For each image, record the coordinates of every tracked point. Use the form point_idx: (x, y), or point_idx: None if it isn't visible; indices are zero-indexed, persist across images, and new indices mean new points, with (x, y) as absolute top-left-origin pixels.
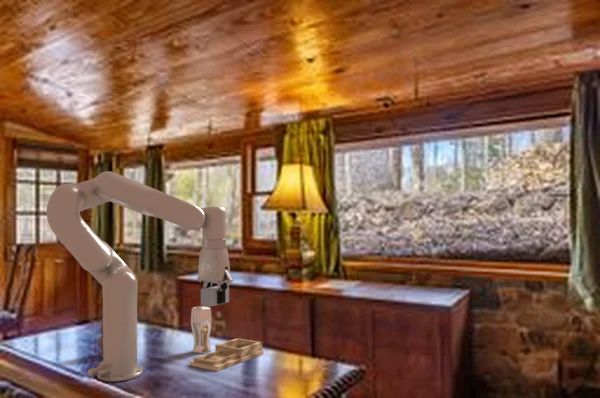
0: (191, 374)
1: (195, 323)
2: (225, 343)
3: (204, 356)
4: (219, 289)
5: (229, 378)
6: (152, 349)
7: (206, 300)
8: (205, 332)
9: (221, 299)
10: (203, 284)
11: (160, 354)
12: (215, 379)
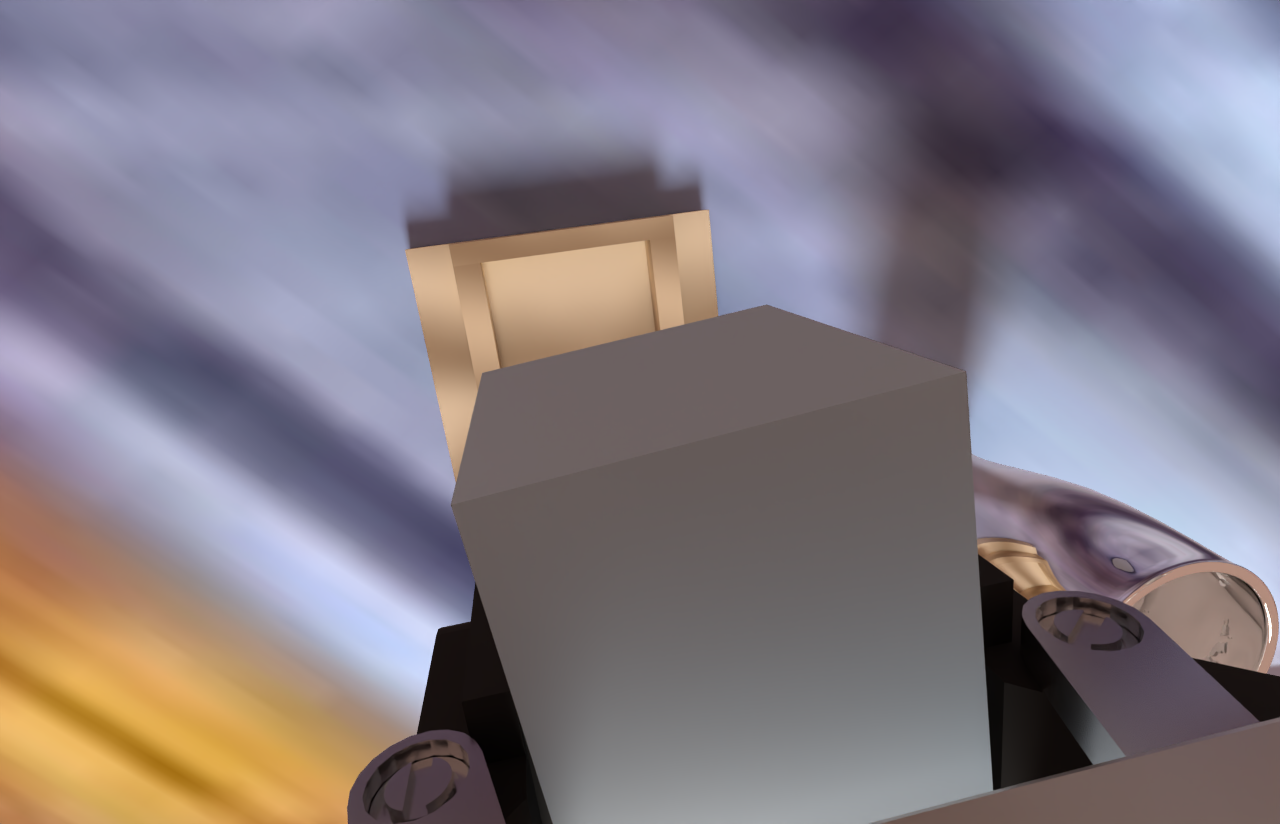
0: (496, 66)
1: (1046, 498)
2: None
3: (658, 315)
4: (441, 776)
5: (180, 191)
6: (1219, 284)
7: (642, 357)
8: None
9: (449, 633)
10: (1217, 688)
11: (1083, 244)
12: (238, 102)
